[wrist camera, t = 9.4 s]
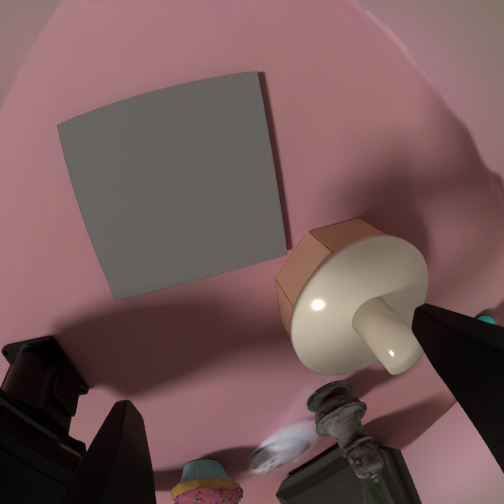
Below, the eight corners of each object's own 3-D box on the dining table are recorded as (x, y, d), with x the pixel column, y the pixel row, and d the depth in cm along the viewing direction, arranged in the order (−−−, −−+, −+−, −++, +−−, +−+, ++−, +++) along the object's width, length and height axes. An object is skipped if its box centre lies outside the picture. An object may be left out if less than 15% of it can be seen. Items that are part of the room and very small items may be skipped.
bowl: (285, 348, 25) (302, 381, 21) (268, 241, 20) (289, 268, 17) (384, 311, 26) (408, 335, 23) (388, 209, 22) (422, 227, 18)
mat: (117, 296, 19) (116, 301, 19) (60, 124, 14) (56, 124, 13) (284, 251, 21) (287, 254, 20) (254, 72, 16) (257, 70, 15)
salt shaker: (337, 371, 28) (395, 462, 17) (360, 388, 31) (412, 465, 20) (293, 405, 29) (337, 498, 18) (321, 417, 31) (363, 497, 21)
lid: (296, 386, 21) (323, 439, 17) (279, 261, 16) (320, 317, 12) (412, 336, 23) (448, 374, 18) (427, 217, 18) (484, 247, 13)
